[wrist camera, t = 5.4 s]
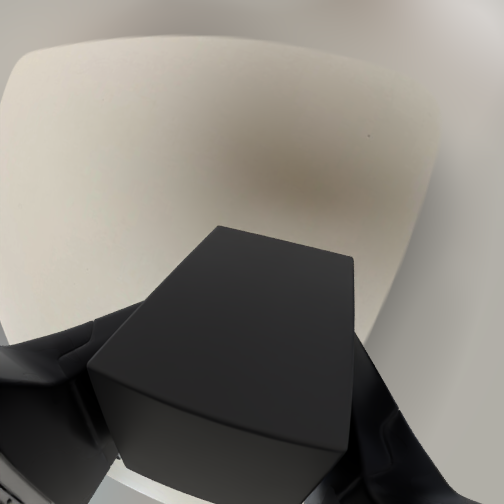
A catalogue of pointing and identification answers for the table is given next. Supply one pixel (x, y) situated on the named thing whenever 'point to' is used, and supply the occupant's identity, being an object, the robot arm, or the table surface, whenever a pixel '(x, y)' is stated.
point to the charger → (235, 371)
